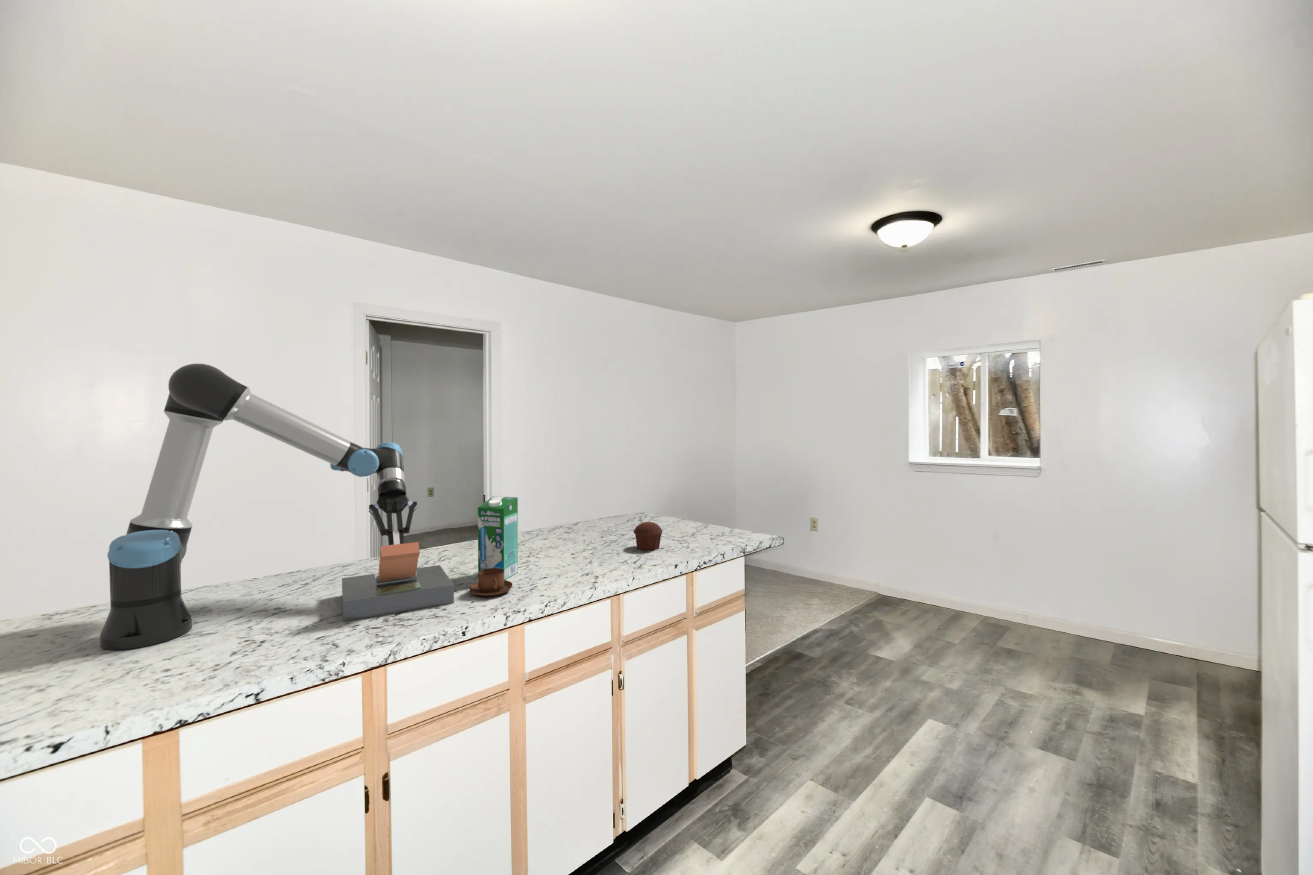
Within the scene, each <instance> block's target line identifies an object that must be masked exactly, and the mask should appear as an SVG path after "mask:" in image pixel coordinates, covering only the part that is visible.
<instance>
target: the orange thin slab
mask: <svg viewBox="0 0 1313 875" xmlns="http://www.w3.org/2000/svg"><path fill="white" fill-rule="evenodd" d="M379 548H380V549H379V564H378V565H379V566H378V574H379V576H376V583H377V584H379V583H386V582H393V581H400V580H407V579H414V578H417V571H416V569H417V568H418V562H419V557H420V553H421V552H420V544H419V542H418V541H416V542H415V541H414V542H408V543H407V542H406V543H403V544H396V545H389V544H387V545H380V547H379Z"/></svg>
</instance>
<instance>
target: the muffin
mask: <svg viewBox="0 0 1313 875" xmlns="http://www.w3.org/2000/svg"><path fill="white" fill-rule="evenodd" d="M632 532H633V533H634V535H635V536H634V537H635V543H636V549H637V550H639V549H640V551H645V552H647V551H649V552H650V551H656V550H660V543H661V539H662V538H661V537H662V534H663V529H662V528H661V526H660V525H659V524H657V523H656V522H653V521H644V522H640V523H639V524H637V525H636V527H635V528H634V530H633V531H632Z"/></svg>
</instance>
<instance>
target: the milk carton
mask: <svg viewBox="0 0 1313 875" xmlns="http://www.w3.org/2000/svg"><path fill="white" fill-rule="evenodd" d="M518 500H519V497H518V496H516V497H515V496H514V497H513V496H497V495H496V496H494V495H493V496H491V497H490V498H488V499H487V500H486V501H485V502H483V503H482V504H480V505H479V506H478V507H477V570H478V571H477V573H478V572H479V571H480V570H483V569H488V568H500V569H503V570H504V580H506V581H507V580H508V579H509V578H511V577H512V576H515V575H516V574H518V571H519V557H518V556H519V551H518V550H519V549H518V548H519V544H518V543H519V538H518V536H519V535H518V534H519V520H518V519H519V518H518V516H519V515H518V514H519V513H518V512H519V510H518V509H519V508H518V507H519V506H518V505H519V504H518V503H519V502H518Z"/></svg>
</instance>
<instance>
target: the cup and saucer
mask: <svg viewBox="0 0 1313 875" xmlns="http://www.w3.org/2000/svg"><path fill="white" fill-rule="evenodd" d="M512 588H513V583H512V582H511V581H509V580H507V579H506V580H504V570H503V569H500V568H488V569H483V570H480V571H479V572H478V571H477V582H474V583H472V584H471V585H470V586H469V588H468V589H469V592H471V594H474V595H476V596H480V597H494V596H498V595H502V594H505V593H507V592H509V591H510V590H511V589H512Z"/></svg>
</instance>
